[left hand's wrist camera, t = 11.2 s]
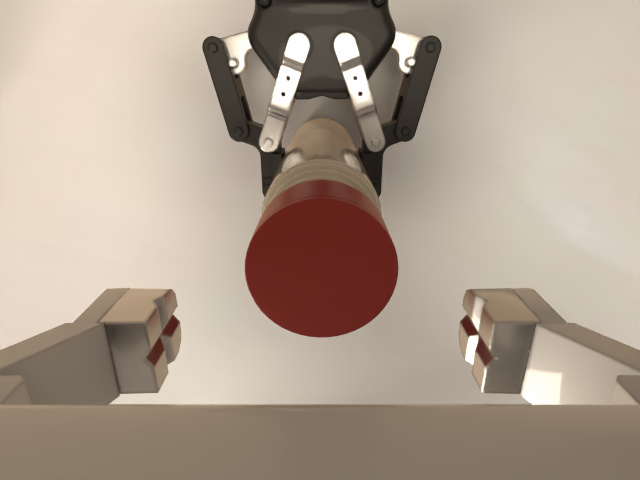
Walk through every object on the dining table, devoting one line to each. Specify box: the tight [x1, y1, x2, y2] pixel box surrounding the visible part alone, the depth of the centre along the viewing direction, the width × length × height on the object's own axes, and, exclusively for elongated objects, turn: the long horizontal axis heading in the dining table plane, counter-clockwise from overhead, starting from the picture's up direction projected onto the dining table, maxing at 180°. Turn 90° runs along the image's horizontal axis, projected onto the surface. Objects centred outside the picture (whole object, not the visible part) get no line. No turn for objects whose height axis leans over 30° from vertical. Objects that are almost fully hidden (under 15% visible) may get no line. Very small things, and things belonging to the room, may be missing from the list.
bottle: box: [262, 118, 382, 215], centre depth 23 cm, size 5×5×22 cm
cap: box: [245, 180, 398, 337], centre depth 14 cm, size 5×5×2 cm
